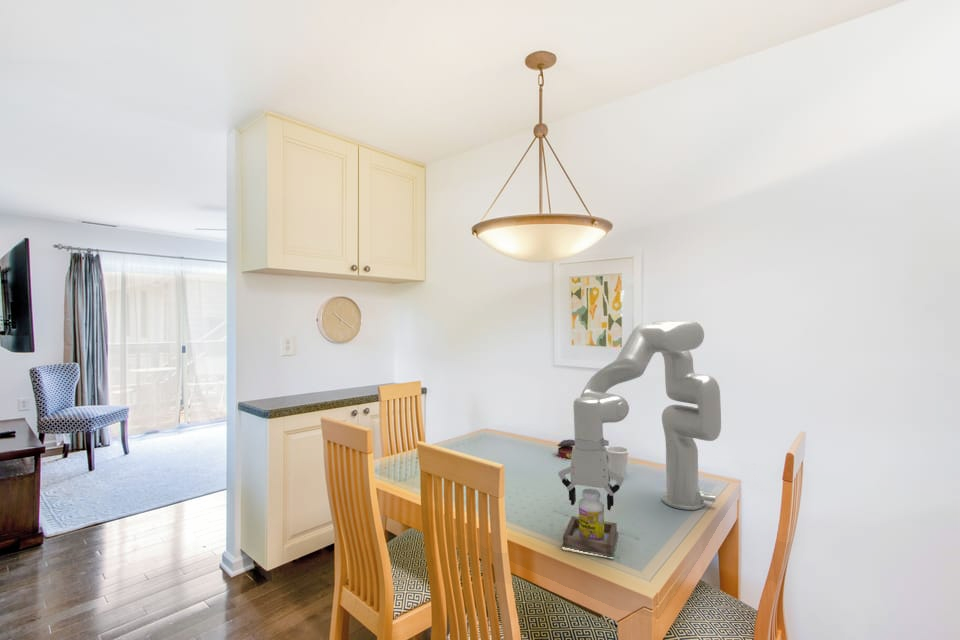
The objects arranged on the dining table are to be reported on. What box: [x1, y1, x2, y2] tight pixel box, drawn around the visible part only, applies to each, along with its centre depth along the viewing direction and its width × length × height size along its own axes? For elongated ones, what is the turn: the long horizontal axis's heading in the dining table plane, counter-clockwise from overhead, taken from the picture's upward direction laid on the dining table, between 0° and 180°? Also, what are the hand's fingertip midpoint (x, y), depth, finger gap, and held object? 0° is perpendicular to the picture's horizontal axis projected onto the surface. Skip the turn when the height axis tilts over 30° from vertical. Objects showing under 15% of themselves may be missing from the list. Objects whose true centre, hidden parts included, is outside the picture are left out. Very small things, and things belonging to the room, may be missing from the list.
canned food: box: [556, 439, 575, 460], centre depth 191 cm, size 11×10×10 cm
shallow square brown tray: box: [561, 515, 619, 558], centre depth 118 cm, size 13×13×4 cm
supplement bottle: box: [578, 488, 605, 541], centre depth 118 cm, size 7×7×13 cm
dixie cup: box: [605, 445, 630, 479], centre depth 167 cm, size 8×8×10 cm
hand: (591, 505), depth 118 cm, fingers open, 9 cm apart
